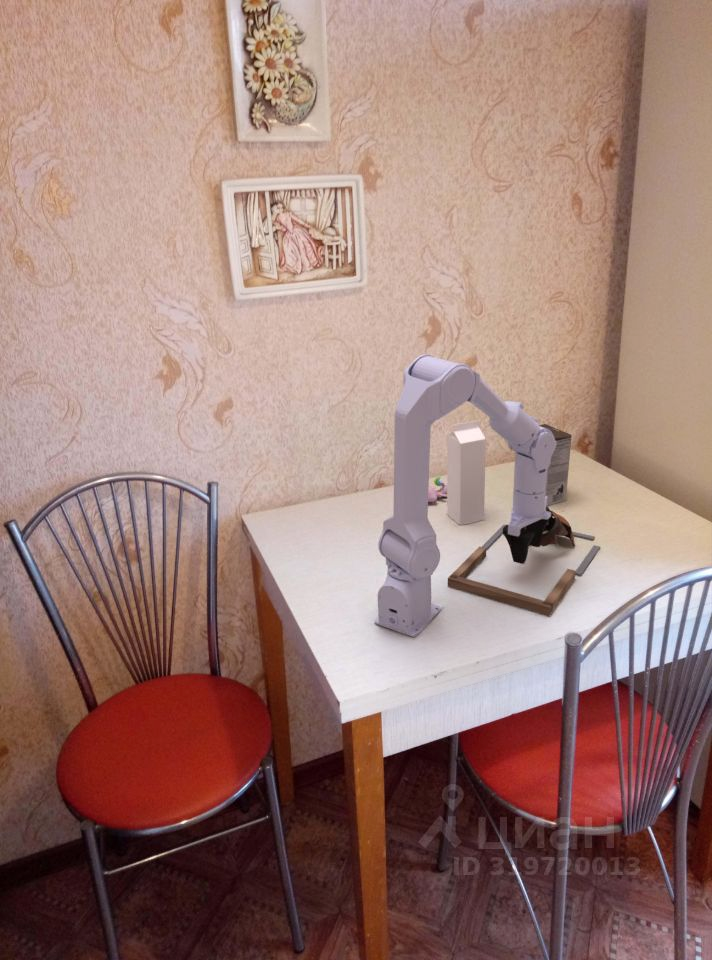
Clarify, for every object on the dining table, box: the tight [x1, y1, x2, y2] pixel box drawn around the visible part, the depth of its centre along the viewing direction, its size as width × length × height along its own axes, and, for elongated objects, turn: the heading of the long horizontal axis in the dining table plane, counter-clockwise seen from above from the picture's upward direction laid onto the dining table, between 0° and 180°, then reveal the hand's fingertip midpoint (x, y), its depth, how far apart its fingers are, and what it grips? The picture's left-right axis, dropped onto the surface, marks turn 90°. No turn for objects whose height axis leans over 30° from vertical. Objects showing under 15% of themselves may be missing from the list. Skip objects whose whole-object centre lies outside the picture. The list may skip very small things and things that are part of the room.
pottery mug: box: [525, 505, 575, 548], centre depth 136 cm, size 12×10×8 cm
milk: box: [446, 420, 487, 526], centre depth 145 cm, size 6×6×22 cm
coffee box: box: [539, 423, 573, 507], centre depth 154 cm, size 9×6×16 cm
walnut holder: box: [447, 546, 576, 617], centre depth 124 cm, size 14×19×2 cm
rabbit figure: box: [428, 476, 447, 503], centre depth 157 cm, size 6×6×15 cm
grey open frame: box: [481, 524, 601, 577], centre depth 136 cm, size 16×20×1 cm
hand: (526, 553), depth 128 cm, fingers open, 7 cm apart
